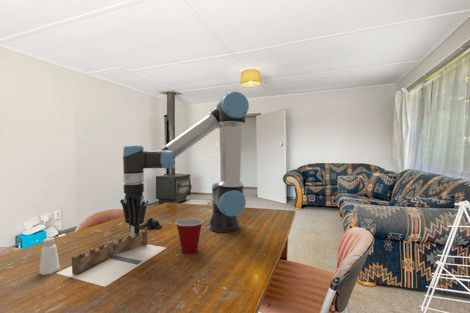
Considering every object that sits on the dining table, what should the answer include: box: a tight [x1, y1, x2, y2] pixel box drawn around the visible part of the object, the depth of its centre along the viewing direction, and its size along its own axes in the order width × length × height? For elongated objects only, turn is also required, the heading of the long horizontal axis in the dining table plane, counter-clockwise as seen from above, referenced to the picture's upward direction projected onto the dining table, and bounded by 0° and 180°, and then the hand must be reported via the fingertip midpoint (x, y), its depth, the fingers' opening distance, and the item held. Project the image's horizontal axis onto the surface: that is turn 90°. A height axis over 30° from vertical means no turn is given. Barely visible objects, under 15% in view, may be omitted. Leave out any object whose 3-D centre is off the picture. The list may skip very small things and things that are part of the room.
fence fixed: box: [71, 244, 109, 275], centre depth 78 cm, size 12×2×6 cm, turn 159°
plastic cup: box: [175, 218, 204, 255], centre depth 90 cm, size 11×11×12 cm
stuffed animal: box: [139, 217, 163, 234], centre depth 116 cm, size 12×10×12 cm
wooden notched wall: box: [106, 230, 148, 257], centre depth 90 cm, size 15×2×6 cm, turn 138°
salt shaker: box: [39, 237, 61, 276], centre depth 76 cm, size 5×5×11 cm
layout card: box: [56, 243, 167, 288], centre depth 83 cm, size 22×28×1 cm
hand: (134, 240), depth 93 cm, fingers closed
